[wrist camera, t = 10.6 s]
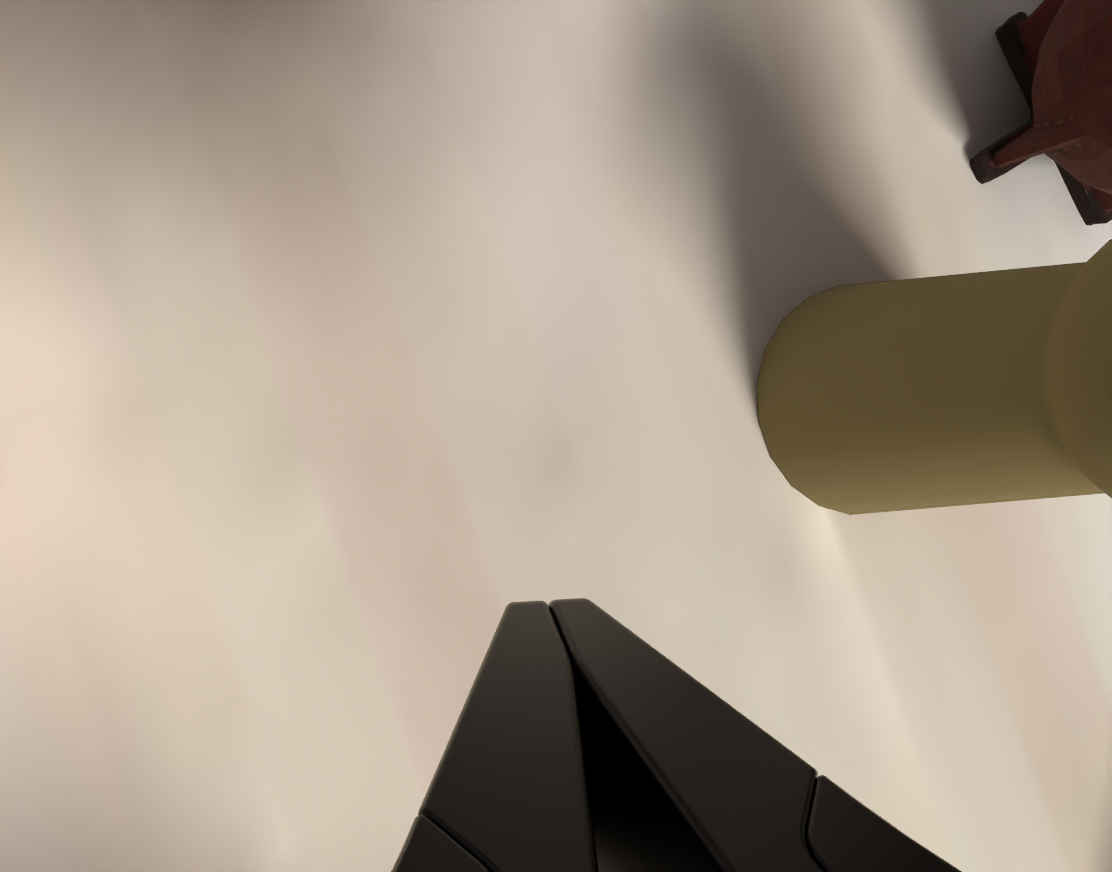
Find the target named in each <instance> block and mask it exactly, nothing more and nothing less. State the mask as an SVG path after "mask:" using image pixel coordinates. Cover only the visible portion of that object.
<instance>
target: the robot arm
mask: <svg viewBox="0 0 1112 872" xmlns="http://www.w3.org/2000/svg"><path fill="white" fill-rule="evenodd" d="M817 775H818V773H817V771H816V769H814V768H813V767H812V766H810V765H809V764H808V763H806V762H805V761H804V760H802V759H801V758H800V757H798V756H797V755H796V754H794V753H793V752H792V751H790V750H789V749H788V748H786V747H785V746H784V745H782V744H781V743H780V742H778V741H777V740H776V739H774V738H773V737H772V736H770V735H769V734H768V733H766V732H765V731H764V730H762V729H761V728H760V727H758V726H757V725H756V724H754V723H753V722H752V721H750V720H749V719H748V718H746V717H745V716H744V715H742V714H741V713H740V712H738V711H737V710H736V709H734V708H733V707H732V706H730V705H729V704H728V703H726V702H725V701H724V700H722V699H721V698H720V697H718V696H717V695H716V694H714V693H713V692H712V691H710V690H709V689H708V688H706V687H705V686H704V685H702V684H701V683H700V682H698V681H697V680H696V679H694V678H693V677H692V676H690V675H689V674H688V673H686V672H685V671H684V670H682V669H681V668H680V667H678V666H677V665H676V664H674V663H673V662H672V661H670V660H669V659H668V658H666V657H665V656H664V655H662V654H661V653H660V652H658V651H657V650H656V649H654V648H653V647H652V646H650V645H649V644H648V643H646V642H645V641H644V640H642V639H641V638H640V637H638V636H637V635H636V634H634V633H633V632H632V631H630V630H629V629H628V628H626V627H625V626H624V625H622V624H621V623H620V622H618V621H617V620H616V619H614V618H613V617H612V616H610V615H609V614H608V613H606V612H605V611H604V610H602V609H601V608H600V607H598V606H597V605H596V604H594V603H593V602H592V601H590V600H588V599H585V598H578V599H562V600H553V601H551V602H550V603H549V605H547V603H546V602H544V601H528V602H512V603H510V604H508V605H507V607H506V609H505V611H504V613H503V616H502V618H501V620H500V623H499V625H498V627H497V630H496V632H495V634H494V637H493V639H492V641H491V644H490V646H489V648H488V651H487V653H486V655H485V658H484V660H483V662H482V665H481V667H480V669H479V672H478V674H477V676H476V679H475V681H474V683H473V686H472V688H471V690H470V693H469V695H468V697H467V700H466V702H465V704H464V707H463V709H462V711H461V714H460V716H459V718H458V721H457V723H456V725H455V728H454V730H453V732H452V735H451V737H450V739H449V742H448V744H447V746H446V749H445V751H444V753H443V756H442V758H441V760H440V763H439V765H438V767H437V770H436V772H435V774H434V777H433V779H432V781H431V784H430V786H429V788H428V791H427V793H426V795H425V798H424V800H423V802H422V805H421V807H420V809H419V813H418V816H417V817H416V818H415V820H414V822H413V824H412V827H411V829H410V831H409V834H408V836H407V838H406V841H405V843H404V845H403V848H402V850H401V852H400V854H399V856H398V858H397V860H396V863H395V865H394V867H393V869H392V871H391V872H961V871H960V870H958V869H957V868H955V867H954V866H952V865H951V864H949V863H948V862H946V861H945V860H943V859H942V858H940V857H939V856H937V855H936V854H934V853H932V852H931V851H929V850H928V849H926V848H925V847H923V846H922V845H920V844H919V843H917V842H916V841H914V840H913V839H911V838H910V837H908V836H907V835H905V834H904V833H902V832H901V831H900V830H898V829H897V828H895V827H894V826H893V825H891V824H890V823H888V822H887V821H886V820H884V819H883V818H881V817H880V816H879V815H877V814H876V813H874V812H873V811H872V810H870V809H869V808H868V807H866V806H865V805H863V804H862V803H861V802H859V801H858V800H856V799H855V798H854V797H852V796H851V795H850V794H848V793H847V792H846V791H844V790H843V789H842V788H840V787H839V786H838V785H836V784H835V783H834V782H832V781H831V780H830V779H828V778H827V777H826V776H824V775H820V776H818V778H817Z"/></svg>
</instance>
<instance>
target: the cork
mask: <svg viewBox="0 0 1112 872" xmlns="http://www.w3.org/2000/svg"><path fill="white" fill-rule="evenodd" d="M757 398H758V418H759V425H760V428H761V431H762V433H763V436H764V439H765V442H766V445H767V448H768V451H769V454H770V457H771V458H772V460H773V461H774V463H775V464H776V465H777V467H778V468H779V469H780V471H781V472H782V474H783V475H784V476H785V478H786V479H787V480H788V482H789V483H790V484H791V486H792V487H794V488H795V489H796V490H798V491H799V492H801V493H802V494H803V495H805V496H806V497H807V498H809V499H810V500H812V501H813V502H814V503H816V504H817V505H819V506H821V507H825V508H828V509H832V510H835V511H839V512H842V513H846V514H849V515H852V514H864V513H876V512H888V511H899V510H911V509H923V508H935V507H947V506H958V505H970V504H982V503H994V502H1006V501H1017V500H1029V499H1041V498H1053V497H1065V496H1077V495H1088V494H1100V493H1106V494H1107V495H1108V496H1110V497H1111V498H1112V239H1111V240H1109V241H1108V242H1107V243H1106V244H1105V245H1104V246H1103V247H1102V248H1101V249H1100V250H1099V251H1098V252H1097V253H1096V254H1094V255H1093V256H1092V257H1091V258H1090V259H1089V260H1088V261H1087V262H1083V263H1073V264H1062V265H1052V266H1041V267H1031V268H1020V269H1010V270H999V271H989V272H978V273H968V274H957V275H947V276H936V277H926V278H916V279H905V280H895V281H884V282H874V283H863V284H853V285H842V286H837V287H834V288H832V289H829V290H826V291H824V292H821V293H818V294H816V295H813V296H810V297H808V298H807V299H806V300H805V301H804V302H803V303H801V304H800V305H799V306H798V307H797V308H796V309H794V310H793V311H792V312H791V313H790V314H789V315H787V316H786V317H785V318H784V319H783V321H782V322H781V324H780V326H779V327H778V329H777V331H776V332H775V334H774V336H773V337H772V339H771V341H770V342H769V344H768V346H767V348H766V349H765V353H764V357H763V362H762V366H761V370H760V374H759V378H758V382H757Z"/></svg>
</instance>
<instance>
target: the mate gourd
mask: <svg viewBox="0 0 1112 872" xmlns="http://www.w3.org/2000/svg"><path fill="white" fill-rule="evenodd" d="M995 34H996V36H997V39H998V41H999V43H1000V46H1001V48H1002V51H1003V53H1004V55H1005V57H1006V59H1007V61H1008V63H1009V65H1010V67H1011V70H1012V72H1013V74H1014V76H1015V78H1016V80H1017V82H1018V84H1019V86H1020V89H1021V91H1022V93H1023V95H1024V97H1025V100H1026V102H1027V104H1028V107H1029V109H1030V111H1031V116H1030V120H1029V121H1028V122H1026V123H1025V124H1023V125H1022V126H1020V127H1019V128H1018V129H1016V130H1015V131H1013V132H1011V133H1010V134H1008V135H1007V136H1005V137H1003V138H1002V139H1000V140H999V141H997V142H995V143H994V144H992V145H991V146H989V147H987V148H986V149H984V150H983V151H981V152H980V153H978V154H977V155H976V156H974V157H973V158H972V159H970V166H971V168H972V171H973V173H974V175H975V177H976V179H977V180H978V181H979V182H980V183H981V184H983V183H986V182H988V181H991V180H993V179H995V178H997V177H999V176H1001V175H1003V174H1005V173H1007V172H1008V171H1010V170H1011V169H1013V168H1014V167H1016V166H1018V165H1019V164H1021V163H1022V162H1024V161H1026V160H1027V159H1029V158H1030V157H1033V156H1036V155H1039V154H1043V153H1044V154H1046V155H1047V156H1048V157H1050V158H1051V159H1052V160H1054V161H1055V163H1056V165H1057V167H1058V169H1059V171H1060V173H1061V175H1062V177H1063V179H1064V181H1065V183H1066V185H1067V187H1068V190H1069V192H1070V194H1071V196H1072V198H1073V200H1074V202H1075V204H1076V206H1077V208H1078V211H1079V212H1080V214H1081V216H1082V218H1083V220H1084V222H1085V223H1086V225H1093V224H1101V223H1107V222H1109V221H1110V220H1112V0H1044V1H1043V2H1042V4H1041V5H1040V6H1039V7H1038V8H1037V9H1036V10H1035V11H1034V12H1033V13H1032V14H1031V15H1030V16H1029V17H1027V15H1026V13H1024V12H1019V13H1017V14H1015V15H1014V16H1012V17H1010V18H1009V19H1008V20H1007V21H1006V22H1005V23H1004V24H1003V25H1002V26H1001V27H999V28H998V29H997V31H996V33H995Z"/></svg>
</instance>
